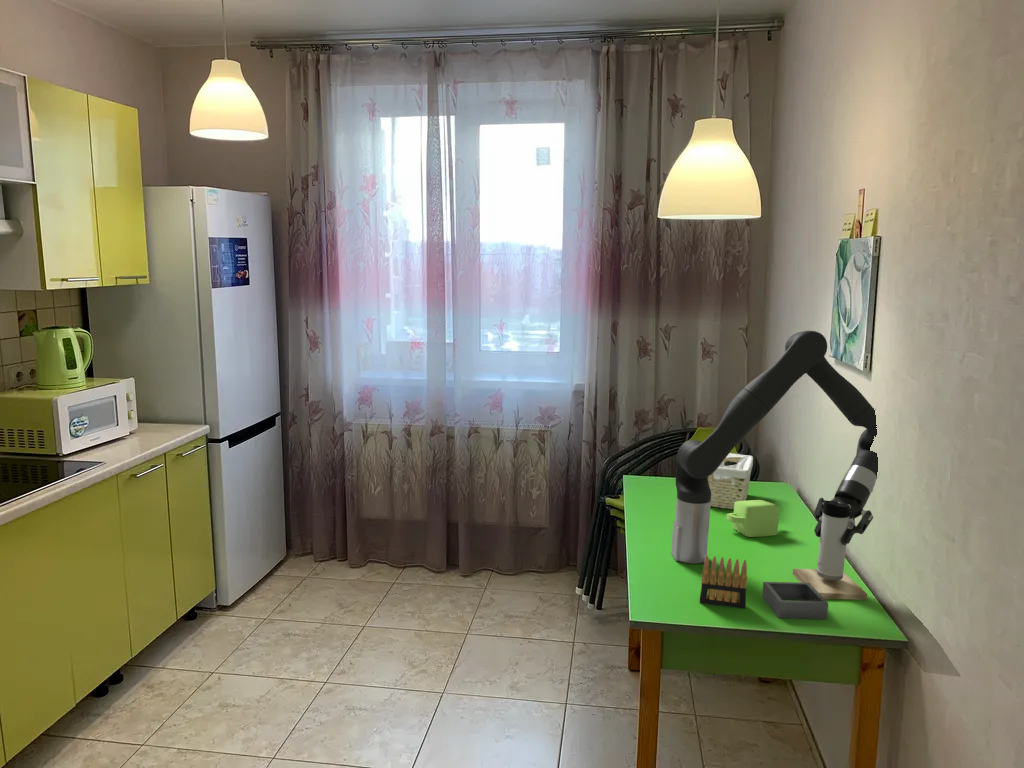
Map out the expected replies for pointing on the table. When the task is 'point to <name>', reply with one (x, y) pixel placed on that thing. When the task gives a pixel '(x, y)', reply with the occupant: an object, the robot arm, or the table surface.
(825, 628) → the table surface
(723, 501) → the storage basket
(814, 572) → the beige wavy board
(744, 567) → the ammunition clip
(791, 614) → the socket collar
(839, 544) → the travel mug
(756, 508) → the lime tabbed block
